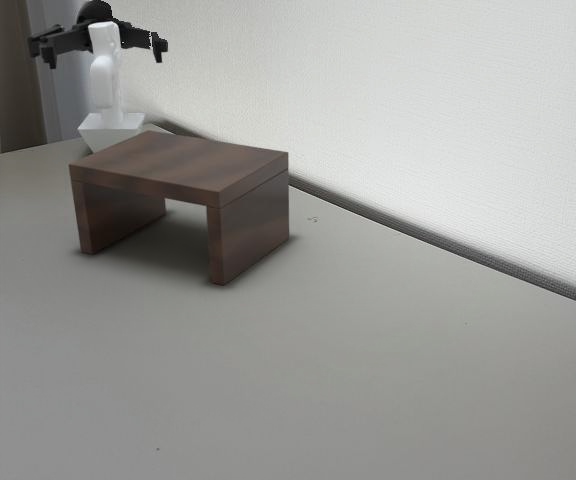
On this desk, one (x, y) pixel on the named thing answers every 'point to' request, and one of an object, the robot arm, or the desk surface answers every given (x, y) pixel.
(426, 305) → the desk surface
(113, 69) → the figurine
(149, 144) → the shelf
